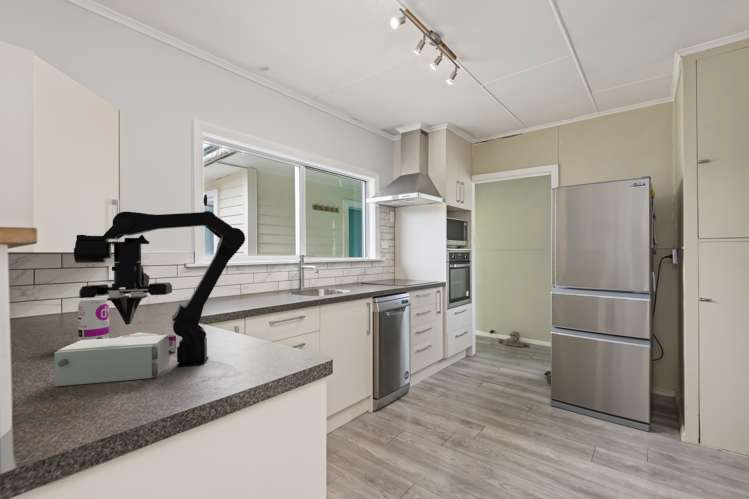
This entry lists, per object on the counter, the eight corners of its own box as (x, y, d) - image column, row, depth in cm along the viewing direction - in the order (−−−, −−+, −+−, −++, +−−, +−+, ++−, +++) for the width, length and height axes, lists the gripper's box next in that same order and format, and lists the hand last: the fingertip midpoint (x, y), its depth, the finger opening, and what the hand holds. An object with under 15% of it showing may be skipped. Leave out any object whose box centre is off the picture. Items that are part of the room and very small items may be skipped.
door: (158, 375, 87) (158, 344, 87) (155, 379, 85) (155, 346, 85) (57, 384, 82) (57, 351, 82) (51, 388, 80) (50, 354, 80)
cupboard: (169, 364, 97) (168, 334, 97) (156, 376, 87) (156, 343, 87) (81, 371, 92) (81, 340, 92) (58, 385, 82) (57, 350, 82)
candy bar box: (176, 351, 110) (140, 346, 116) (176, 335, 110) (140, 331, 116) (140, 362, 100) (103, 356, 106) (140, 344, 100) (103, 339, 106)
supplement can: (115, 340, 126) (114, 297, 126) (94, 346, 117) (94, 300, 118) (93, 340, 126) (93, 297, 127) (71, 346, 118) (71, 300, 118)
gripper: (177, 261, 101) (178, 316, 101) (100, 262, 97) (101, 320, 97) (165, 261, 91) (165, 324, 90) (77, 263, 86) (78, 329, 86)
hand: (128, 324), depth 91 cm, fingers closed
